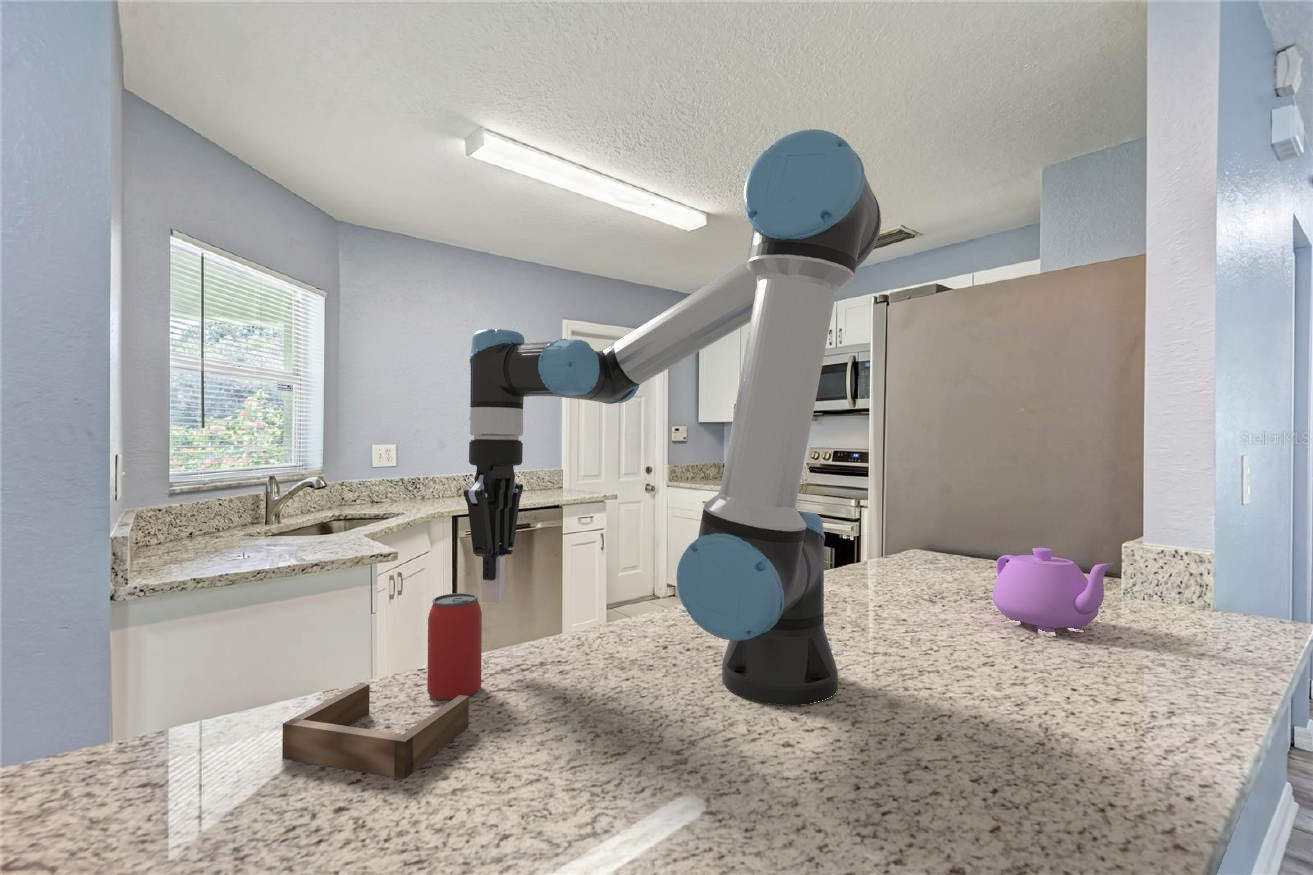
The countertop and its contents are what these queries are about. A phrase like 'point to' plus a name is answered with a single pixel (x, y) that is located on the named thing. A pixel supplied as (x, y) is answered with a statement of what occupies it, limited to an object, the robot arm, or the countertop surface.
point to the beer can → (454, 646)
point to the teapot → (1048, 590)
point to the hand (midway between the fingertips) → (493, 600)
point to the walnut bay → (369, 736)
